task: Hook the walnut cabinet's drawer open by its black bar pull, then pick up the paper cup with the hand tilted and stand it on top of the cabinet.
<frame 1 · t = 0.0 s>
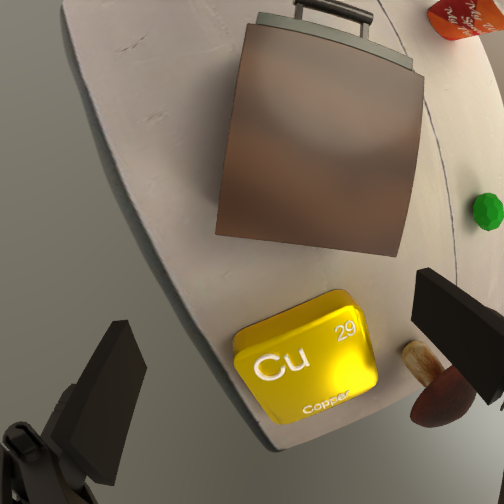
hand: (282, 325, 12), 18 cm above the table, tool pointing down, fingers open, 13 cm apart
cabinet: (300, 145, 27), on the table
decorative mushroom: (408, 346, 37), on the table
polyhedron: (476, 207, 30), on the table
element tile: (306, 353, 35), on the table
paper cup: (442, 23, 22), on the table
drawer: (321, 89, 21), point 5 cm above the table, slide at 0.5 cm
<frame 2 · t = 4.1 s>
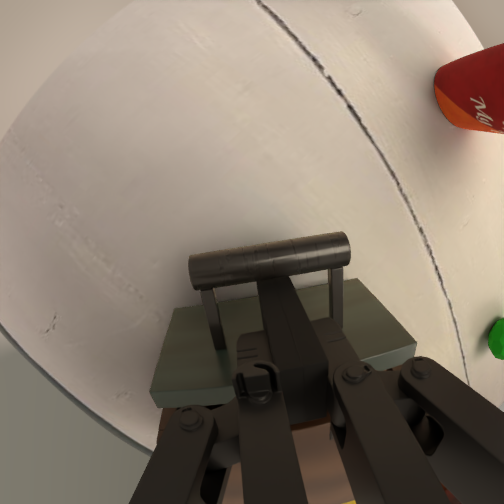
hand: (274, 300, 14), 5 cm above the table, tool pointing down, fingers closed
cabinet: (279, 391, 23), on the table
polyhedron: (493, 327, 24), on the table
paper cup: (456, 96, 16), on the table
drawer: (283, 382, 17), point 5 cm above the table, slide at 1.7 cm, touching gripper
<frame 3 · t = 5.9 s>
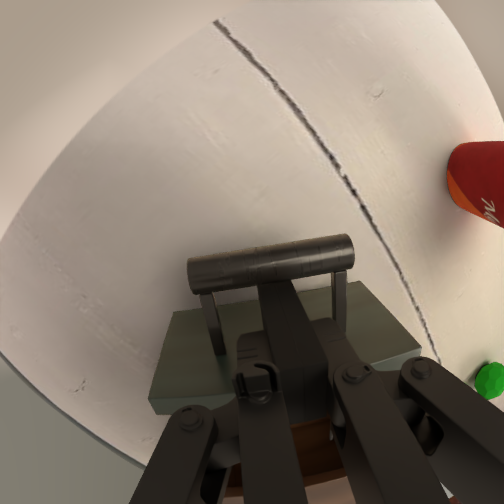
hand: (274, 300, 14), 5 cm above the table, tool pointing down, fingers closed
cabinet: (285, 435, 25), on the table
polyhedron: (481, 370, 26), on the table
paper cup: (467, 175, 18), on the table
drawer: (284, 387, 16), point 5 cm above the table, slide at 8.4 cm
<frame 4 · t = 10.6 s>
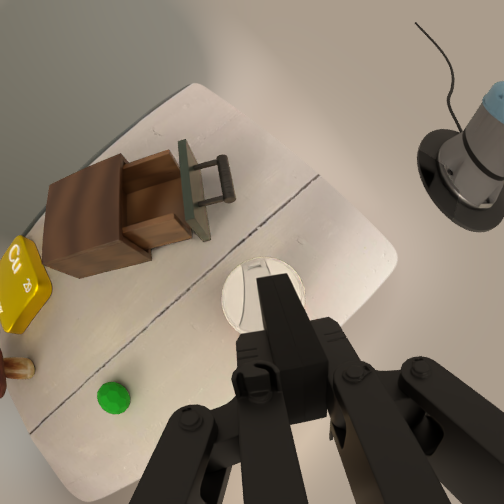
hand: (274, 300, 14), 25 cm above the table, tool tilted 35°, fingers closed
cabinet: (111, 231, 45), on the table
decorative mushroom: (32, 367, 40), on the table
polyhedron: (122, 395, 37), on the table
element tile: (25, 287, 45), on the table
paper cup: (270, 310, 38), on the table
drawer: (169, 197, 40), point 5 cm above the table, slide at 8.6 cm
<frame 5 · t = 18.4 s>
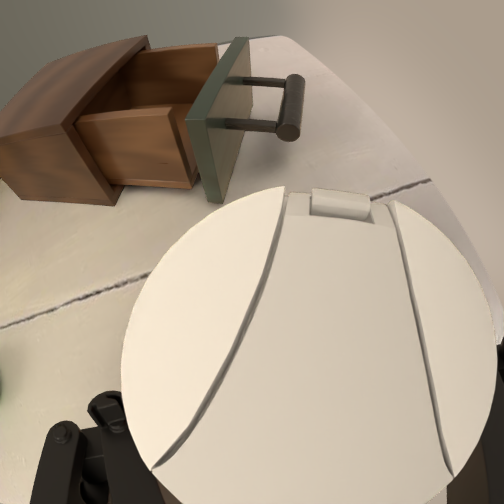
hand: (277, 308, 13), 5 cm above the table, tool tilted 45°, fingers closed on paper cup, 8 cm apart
cabinet: (88, 151, 27), on the table
paper cup: (283, 381, 17), on the table, touching gripper
drawer: (184, 109, 21), point 5 cm above the table, slide at 8.6 cm
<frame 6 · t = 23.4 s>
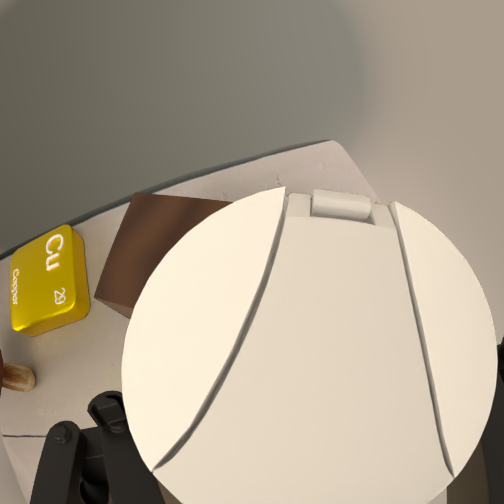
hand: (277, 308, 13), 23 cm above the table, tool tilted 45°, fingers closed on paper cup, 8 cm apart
cabinet: (191, 282, 38), on the table
decorative mushroom: (32, 379, 32), on the table
element tile: (53, 286, 39), on the table
paper cup: (283, 381, 17), point 17 cm above the table, touching gripper
when the fingers open (15 cm above the table, at t = 28.3 s): paper cup stays where it is, resting on cabinet.
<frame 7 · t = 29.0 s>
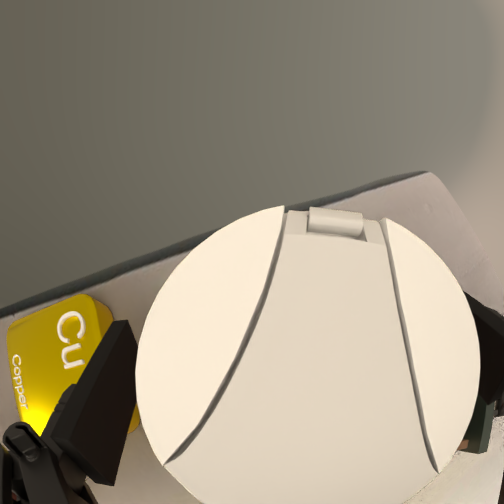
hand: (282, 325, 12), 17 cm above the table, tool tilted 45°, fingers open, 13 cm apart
element tile: (74, 377, 26), on the table
paper cup: (282, 381, 17), point 10 cm above the table, touching cabinet
drawer: (439, 389, 20), point 5 cm above the table, slide at 8.6 cm
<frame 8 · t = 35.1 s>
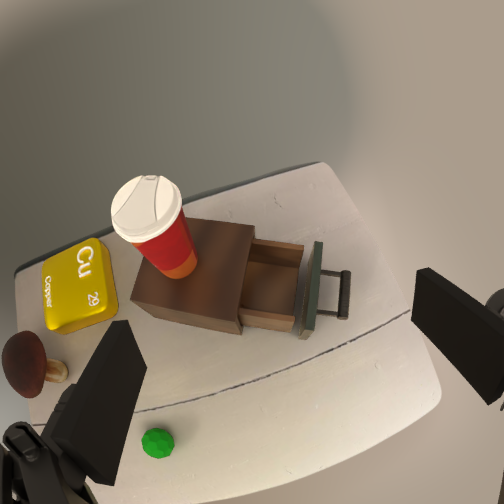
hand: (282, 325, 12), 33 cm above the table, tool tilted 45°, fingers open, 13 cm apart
cabinet: (205, 286, 47), on the table
decorative mushroom: (63, 372, 41), on the table
polyhedron: (163, 440, 36), on the table
element tile: (82, 290, 48), on the table
paper cup: (178, 261, 39), point 10 cm above the table, touching cabinet
drawer: (285, 289, 42), point 5 cm above the table, slide at 8.6 cm
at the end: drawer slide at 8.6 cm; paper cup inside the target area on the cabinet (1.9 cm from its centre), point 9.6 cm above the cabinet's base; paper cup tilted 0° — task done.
